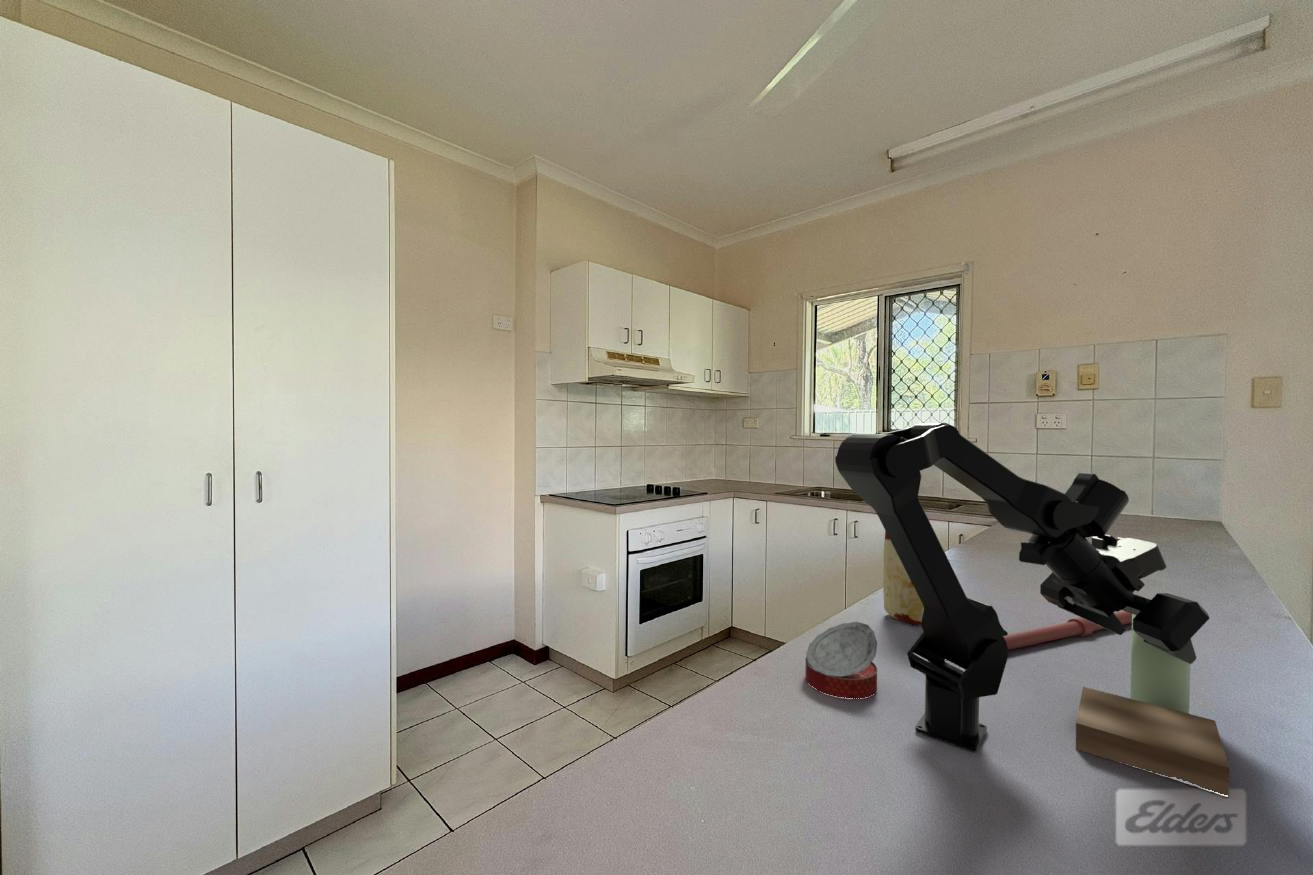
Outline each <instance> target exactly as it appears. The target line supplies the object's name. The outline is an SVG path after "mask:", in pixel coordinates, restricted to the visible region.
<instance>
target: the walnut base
mask: <svg viewBox="0 0 1313 875" xmlns="http://www.w3.org/2000/svg"><path fill="white" fill-rule="evenodd" d="M1081 690H1082V691H1081V696H1080V701H1079V705H1078V706H1079V707H1078V711H1077V717H1076V721H1075V722H1076V723H1075V750H1078V749H1079V750H1078V751H1081V750H1082V752H1084V751H1085V753H1087V754H1090V753H1091V754H1090V755H1093V756H1096V755H1098V756H1097V757H1100V756H1101V757H1100V758H1103V759H1106V758H1107V760H1109V759H1110V760H1109V761H1112V760H1114V761H1113V762H1115V761H1116V762H1115V763H1118V762H1121V763H1122V765H1124V764H1128V765H1130V766H1129V767H1131V766H1135V767H1138V768H1141V769H1145V770H1147V771H1152V772H1153V773H1158V774H1161V775H1165V776H1168V777H1176V778H1177V779H1182V780H1183V781H1188V782H1190V783H1192V784H1196V785H1198V786H1200V787H1202V788H1205V789H1208V790H1212V791H1214V792H1218V793H1220V794H1224V795H1228V796H1229V797H1230V773H1231V772H1230V771H1231V770H1230V765H1229V762H1228V759H1227V756H1226V753H1225V749H1224V747H1223V746H1224V744H1223V743H1222V739H1221V735H1220V733H1219V729H1218V726H1217V723H1216V722H1217V721H1216V720H1213V719H1211V718H1207V717H1202V716H1199V715H1195V714H1191V713H1189V714H1188V713H1184V712H1180V711H1176V710H1172V709H1168V708H1164V707H1160V706H1157V705H1153V704H1149V703H1145V702H1141V701H1137V700H1133V699H1130V698H1129V697H1124V696H1121V695H1117V694H1113V693H1110V692H1105V691H1103V690H1098V689H1093V688H1090V687H1086V686H1082V689H1081ZM1121 763H1120V764H1121ZM1128 765H1127V766H1128Z"/></svg>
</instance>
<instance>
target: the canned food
mask: <svg viewBox="0 0 1313 875" xmlns="http://www.w3.org/2000/svg"><path fill="white" fill-rule="evenodd" d="M877 648H878V640H877V638H876V633H875V631H874V630H873V629H872V628H871V626H870V625H869V624H866V623H863V622H859V621H853V622H846V623H845V622H843V623H840V624H838V625H836V626H832V627H828V629H825V631H823V632H822V633H820V634H817V635H816V637H814V639H813V640H812V641H811V642H810V643H809V645H808V648H807V650H806V652H805V655H806V656H805V659H804V660H805V666H804V667H805V669H804V670H805V674H804V675H805V676H804V678H805V677H806V679H805V681H806V680H807V682H808V683H809V684H810V685H811V686H813V687H814V688H816V689H817V690H818V691H821V692H823V693H826V694H829V695H833V696H837V697H844V698H845V697H846V698H853V699H854V698H855V699H856V698H857V699H858V698H859V699H860V698H865V697H869V696H871V695H873V694H875V693H876V694H877V692H876V691H878V668H877V665H876V664H875V663H874V662H873V661H874V659H875V657H876V656H877V650H878V649H877ZM807 682H806V683H807ZM818 691H817V692H818ZM876 694H875V695H876ZM873 696H874V695H873Z"/></svg>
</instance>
